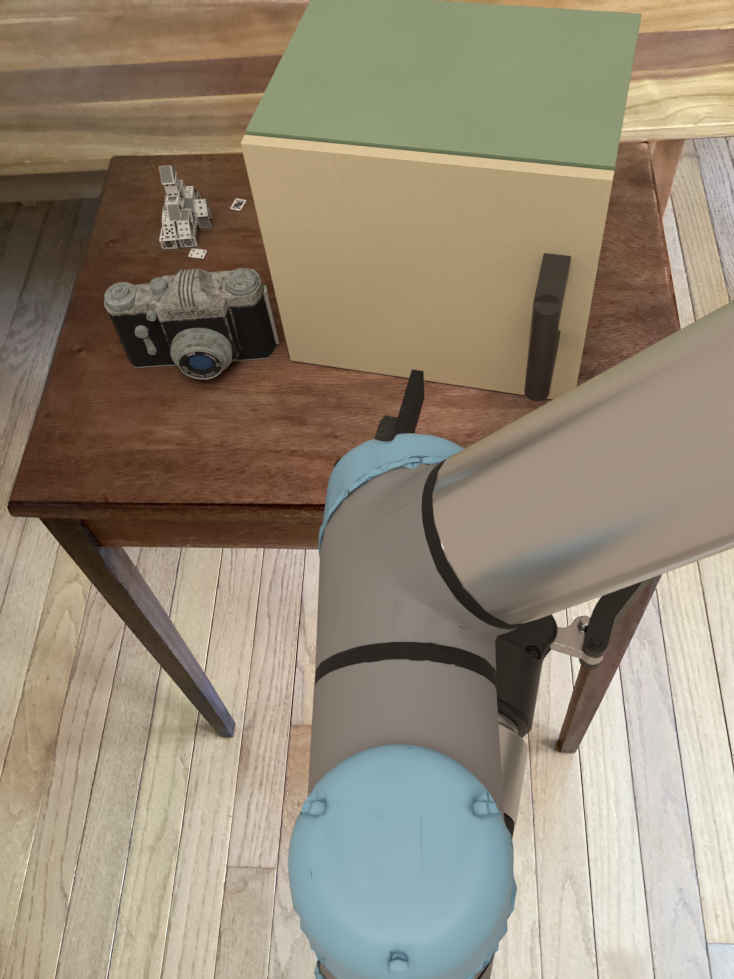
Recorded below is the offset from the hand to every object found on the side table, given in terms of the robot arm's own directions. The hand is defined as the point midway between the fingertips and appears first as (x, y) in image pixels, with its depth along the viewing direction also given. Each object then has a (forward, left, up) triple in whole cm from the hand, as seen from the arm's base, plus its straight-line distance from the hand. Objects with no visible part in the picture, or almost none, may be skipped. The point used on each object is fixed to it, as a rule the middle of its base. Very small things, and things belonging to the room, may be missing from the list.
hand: (524, 399), depth 58 cm
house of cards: (+49, -8, -20) cm, 53 cm away
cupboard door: (+15, -6, -19) cm, 26 cm away
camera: (+35, +4, -20) cm, 40 cm away
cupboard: (+22, -17, -20) cm, 34 cm away
